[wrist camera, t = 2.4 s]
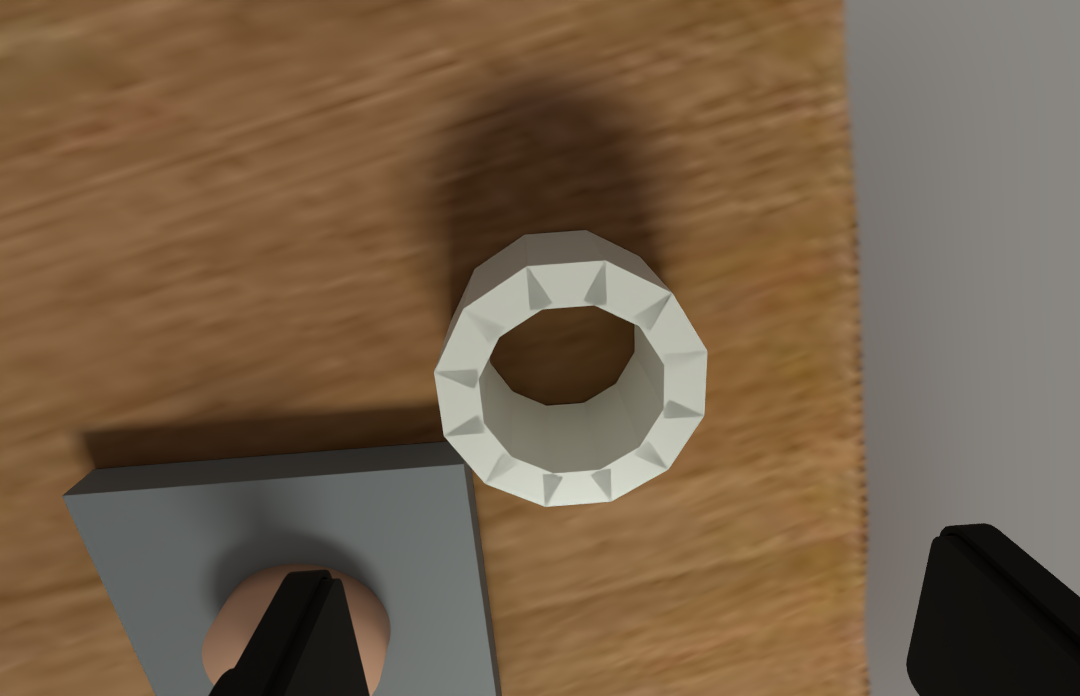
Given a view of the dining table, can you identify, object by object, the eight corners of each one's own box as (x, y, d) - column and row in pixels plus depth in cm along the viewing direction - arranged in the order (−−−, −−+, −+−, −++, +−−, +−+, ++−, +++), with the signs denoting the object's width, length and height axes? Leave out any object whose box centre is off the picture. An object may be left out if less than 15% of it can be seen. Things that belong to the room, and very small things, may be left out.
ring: (440, 240, 17) (419, 273, 13) (670, 223, 17) (712, 251, 13) (467, 439, 20) (455, 513, 16) (666, 424, 20) (700, 494, 16)
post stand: (94, 468, 20) (-163, 681, 12) (467, 439, 20) (437, 632, 12) (203, 721, 25) (68, 981, 17) (501, 696, 25) (495, 944, 17)
